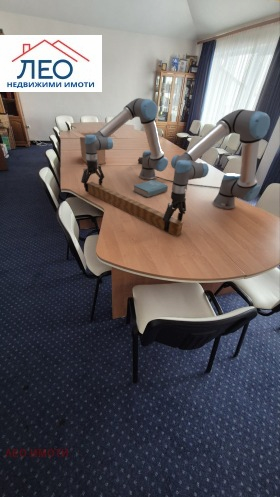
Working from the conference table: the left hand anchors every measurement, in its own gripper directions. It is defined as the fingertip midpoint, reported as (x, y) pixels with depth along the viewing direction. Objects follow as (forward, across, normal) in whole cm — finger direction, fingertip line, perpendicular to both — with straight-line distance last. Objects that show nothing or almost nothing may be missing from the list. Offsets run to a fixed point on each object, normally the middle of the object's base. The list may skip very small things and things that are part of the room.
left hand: (93, 189), depth 166 cm
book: (+3, +38, -25) cm, 45 cm away
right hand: (0, 0, -73) cm, 73 cm away
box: (+3, +54, +69) cm, 88 cm away
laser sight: (+3, +94, +26) cm, 98 cm away
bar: (+3, 0, -36) cm, 37 cm away
